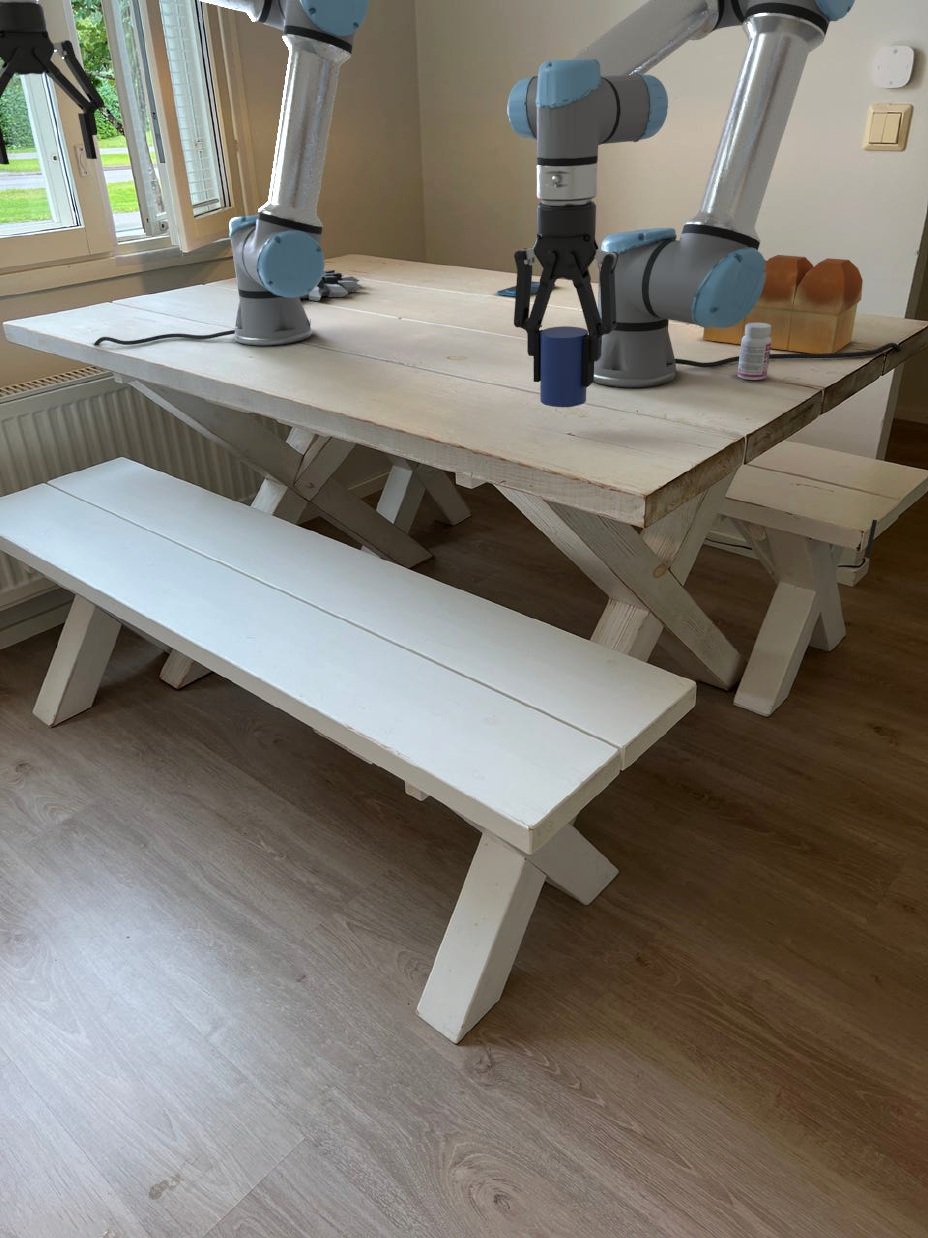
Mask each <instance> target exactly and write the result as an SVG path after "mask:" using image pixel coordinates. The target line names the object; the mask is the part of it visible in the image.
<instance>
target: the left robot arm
mask: <svg viewBox="0 0 928 1238" xmlns="http://www.w3.org/2000/svg"><path fill="white" fill-rule="evenodd" d="M200 1H201V2H204V3H209V4H212V5H215V6H217V5H218V6H220V7H224V8H228V9H232V10H235V11H239V12H243V13H246V14H247V15H248V16H249V18H250V19H251V21H252V22H255V23H258V24H263V25H266V26H268V27H272V28H275V29H278V30H281V31H282V33H283V34H282V39H283V41H284V43H285V45H286V46H287V47H288V50H289V56H288V61H287V62H288V64H287V70H286V76H285V84H284V90H283V97H282V105H281V111H280V119H279V126H278V133H277V140H276V146H275V153H274V161H273V168H272V174H271V181H270V188H269V195H268V201H267V202H266V203H265V204H264V205H262V206H261V207H260V208H258V211H257V214H255V215H245V216H236V217H232V218H231V219H230V220H229V224H228V225H229V226H228V227H229V235H228V236H229V237H228V238H229V239H230V244H231V252H232V257H233V258H232V259H233V264H234V271H235V272H234V273H235V278H236V279H235V280H236V286H237V293H238V307H237V312H236V318H235V319H236V320H235V323H234V329H230V330H226V331H220V332H216V333H212V334H190V333H180V332H179V333H178V332H177V333H165V334H158V335H154V336H150V337H145V338H141V339H140V338H139V339H136V340H135V339H132V340H121V339H117V338H114V337H111V336H101V337H99V338H98V339H96V340H95V342H94V343H93V346H99V345H100V344H101V343H102V342H111V343H113V344H117V345H121V346H134V345H140V344H145V343H150V342H154V341H159V340H163V339H172V338H173V339H174V338H183V339H191V340H210V339H215V338H220V337H225V336H230V335H234V337H235V341H236V342H238V343H240V344H243V345H248V346H279V345H286V344H287V345H288V344H292V343H293V344H294V343H297V342H301V341H305V340H306V339H308V338H310V337H311V336H312V327H311V325H312V320H311V318H308V315H307V313H306V310H305V308H304V306H303V303H302V301H301V299H299V297H300V296H303V295H306V294H307V293H309V292H311V291H312V290H313V289H314V288H315V287H316V286H317V285H318V283H319V282H320V280H321V278H322V275H323V272H324V271H325V263H326V262H325V256H324V252H323V250H322V247H321V241H322V234H323V233H322V232H323V227H324V225H323V223H322V221H321V219H320V218H319V216H318V214H317V212H318V205H319V199H320V193H321V186H322V180H323V174H324V168H325V162H326V156H327V149H328V142H329V138H330V131H331V125H332V119H333V112H334V107H335V100H336V95H337V87H338V81H339V75H340V70H341V67H342V65H343V64H344V63H346V62H347V61H348V60H349V59H351V57H352V52H353V47H354V46H353V45H354V42H355V41H354V40H355V34H356V32H357V31H358V30H359V29H360V28H361V27H362V24H363V23H364V22H365V20H366V17H367V14H368V11H369V4H370V3H369V2H370V1H369V0H200ZM55 53H57V55H58V56H59V57H60V58H61V59H63V60H64V62H65V64H66V66H67V67H68V69H69V70H70V72H71V75H73V77H74V79H75V80H76V82H77V83H78V85H79V86H80V88H81V89H82V91H83V93H84V94H85V96H86V97H87V98H86V97H85V96H84V95H83V93H82V92H81V91H80V90H79V89H78V88H77V87H76V86H75V85H74V84H73V83H72V82H71V81H70V80H69V79H68V78H67V77H66V75H64V74H63V73H62V71H61V70H60V68H59V67H58V66H57V65H56V64H55V63H54V62H53V61H52V60H53V57H54V55H55ZM0 59H1V60H2V61H3V62H2V64H1V66H0V99H1V98H2V96H3V95H4V92H5V91H6V89H7V87H8V85H9V83H10V81H11V79H12V78H13V77H14V75H15V74H16V75H18V76H28V75H32V76H33V75H34V76H35V75H37V76H38V75H39V76H40V75H43V74H45V75H46V76H48V77H49V78H50V79H51V80H52V81H53V82H54V83H55V84H56V85H57V86H58V87H59V88H60V89H61V90H62V92H64V93H65V94H66V96H68V97H69V98H70V99H71V100H72V101H73V103H74V104H76V106H77V107H79V109H80V110H81V111H82V112H83V113H82V112H80V113H77V114H78V115H77V117H78V120H79V126H80V131H81V137H82V142H83V146H84V151H85V157H86V159H88V160H97V159H98V157H97V156H98V155H97V152H96V147H95V140H94V136H98V133H99V132H98V127H97V120H96V115H95V113H96V111H97V110H99V109H101V108H104V107H105V105H106V104H105V101H104V99H103V98H102V96H101V95H100V93H99V91H98V90H97V88H96V87H95V85H94V83H93V82H92V80H91V79H90V77H89V76H88V74H87V73H86V71H85V69H84V67H83V65H82V64H81V63H80V61H79V60H78V58H77V56H76V54H75V50H74V45H73V43H72V41H71V40H68V39H65V40H61V41H58V42H52V40H51V39H50V36H49V31H48V25H47V21H46V15H45V10H44V6H42V4H41V3H39V2H38V0H0ZM5 144H6V143H5V140H4V134H3V130H2V127H1V125H0V165H3V166H5V165H10V161H9V160H10V159H9V157H8V152H7V148H6V145H5Z"/></svg>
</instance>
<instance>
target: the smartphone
mask: <svg viewBox="0 0 928 1238" xmlns="http://www.w3.org/2000/svg"><path fill="white" fill-rule="evenodd" d="M539 285H540V281H533V280H532V282H531V294H530V295H532V294H537V291H538V288H539ZM554 287H556V284H555V283H554V286H553V288H554ZM496 295H500V296H508V297H516V285H515V286H510V287H507V288H504V289H501V290H497V291H496Z"/></svg>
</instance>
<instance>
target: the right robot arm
mask: <svg viewBox="0 0 928 1238" xmlns="http://www.w3.org/2000/svg"><path fill="white" fill-rule="evenodd" d="M855 1H856V0H648V1H646V2H645V3H644V4H642V5H641V6H639V7H638V8H637V9H636V10H634V11H633V12H631V13H630V14H629V15H627V16H626V17H625V18H623V19H622V20H620V21H619V22H618V23H616V24H615V25H613V26H612V27H611V28H610V29H608V30H606V32H604V33H603V34H601V35H600V36H599V37H597V38H596V39H595V40H593V41H592V42H590V43H589V44H588V45H586V46H584V47H583V49H581V50H580V51H578V52H577V53H575V54H574V55H573V56H571V57H569V59H555V60H554V59H553V60H545V61H544V62H542V64H541V65H539V68H538V72H537V75H535V76H531V77H525V78H523V79H520V80H519V81H518V82H517V83H515V84H514V86H513V87H512V89H511V91H510V93H509V96H508V99H507V107H506V108H507V109H506V110H507V118H508V122H509V124H510V127H511V128H512V130H513V132H514V133H515V134H516V135H517V136H518V137H521V138H523V139H529V140H535V141H536V154H537V155H536V197H537V199H538V200H540V201H541V202H539V203H538V204H537V206H536V241H535V243H534V245H533V247H529V248H526V247H524V248H521V249H519V250H517V251H515V252H514V255H513V257H514V262H515V266H516V284H515V286H516V297H515V296H514V297H515V299H514V314H513V325H514V327H515V328H516V329H517V328H518V329H519V328H520V329H523V330H524V331H525V332H526V338H527V339H526V340H527V341H526V343H527V345H526V346H527V349H526V350H527V351H526V352H527V355H528V356H529V357H533V382H534V383H540V366H541V331H542V330H543V329H541V328H542V327H543V324H542V323H543V320H544V317H545V315H546V311H547V307H548V305H549V301H550V299H551V295H552V292H553V289H554V287H553V286H554V284H555V283H556V281H557V280H559V279H566V280H569V281H571V282H572V285H573V287H574V288H575V290H576V293H577V296H578V301H579V304H580V307H581V311H582V314H583V319H584V322H585V326H586V330H587V331H588V335H587V336H586V337H584V338H583V372H582V387H586V388H589V386H590V385H592V384H593V383H596V384H599V385H604V386H609V387H618V388H619V387H620V388H645V387H654V386H655V387H656V386H660V385H663V384H666V383H669V382H672V381H673V380H674V379H675V378H676V372H677V368H676V367H677V365H685V366H690V367H691V366H692V367H696V368H702V369H703V368H705V369H706V368H715V367H719V366H723V365H727V364H731V363H735V362H739V357H740V355H737V356H732V357H728V358H724V359H720V360H716V361H710V362H702V361H701V362H700V361H695V360H691V359H683V358H675V353H674V350H673V345H672V341H671V336H670V332H669V321H675V322H679V323H685V324H691V325H695V326H699V327H701V328H703V329H704V328H709V327H714V328H729V327H732V326H735V325H736V324H738V323H739V322H740V321H741V320H742V319H744V318H746V317H747V316H748V314H749V313H750V312H751V311H752V309H753V308H754V306H755V305H756V303H757V301H758V299H759V297H760V295H761V293H762V290H763V287H764V283H765V278H766V274H765V273H764V270H765V269H766V264H765V260H766V259H765V257H764V256H763V254H762V253H761V252H760V251H759V248H760V245H761V238H760V237H759V235H758V233H757V230H756V228H755V226H756V223H757V220H758V217H759V214H760V210H761V207H762V203H763V201H764V197H765V194H766V191H767V188H768V185H769V181H770V178H771V175H772V172H773V169H774V165H775V163H776V159H777V157H778V152H779V150H780V147H781V142H782V140H783V137H784V133H785V130H786V127H787V123H788V120H789V118H790V114H791V111H792V107H793V104H794V101H795V98H796V95H797V91H798V88H799V85H800V82H801V79H802V76H803V72H804V69H805V66H806V63H807V60H808V57H809V54H810V53H811V52H812V51H814V50H816V49H818V47H820V46H821V45H823V43H824V42H825V39H826V35H827V32H828V29H829V26H830V23H831V22H838V21H839V20H840V19H844V18H845V17H846V16H847V14H848V13H850V11H852V8H853V6H854V4H855ZM739 26H741V28H742V31H743V32H744V34H745V36H746V38H747V40H748V42H747V45H746V46H747V47H746V50H745V53H744V56H743V60H742V63H741V66H740V69H739V73H738V77H737V80H736V83H735V87H734V90H733V93H732V96H731V100H730V103H729V107H728V111H727V114H726V116H725V117H726V118H725V121H724V124H723V128H722V131H721V134H720V138H719V141H718V145H717V147H716V151H715V154H714V158H713V161H712V165H711V168H710V171H709V175H708V178H707V181H706V185H705V189H704V193H703V195H702V199H701V202H700V205H699V209H698V212H697V213H696V215H695V216H694V217H692V218H691V219H689V220H687V221H686V222H684V224H683V227H682V231H681V234H680V237H679V240H678V239H677V237H678V235H677V232H676V229H675V228H674V227H656V228H646V229H636V230H629V231H621V232H615V233H612V234H609V235H607V236H605V237H604V239H603V240H602V242H601V247H600V248H599V245H598V243H597V239H596V230H597V229H596V228H597V227H596V225H597V204H596V203H595V201H593V199H594V198H596V197H597V194H598V192H597V191H598V162H599V160H598V159H599V146H600V145H606V144H607V145H608V144H618V143H627V142H631V143H632V142H633V143H637V142H638V143H639V141H642V140H646V139H650V138H652V137H654V136H655V135H657V133H659V132H660V130H661V129H662V128H663V126H664V124H665V122H666V120H667V116H668V110H669V109H668V108H669V96H668V93H667V89H666V88H665V86H664V84H663V82H662V81H661V80H660V79H659V78H657V77H656V76H654V75H652V74H646V73H647V72H649V71H650V70H651V69H653V68H654V67H656V66H657V65H658V64H659V63H661V62H662V61H663V60H665V59H666V58H668V57H669V56H670V55H671V54H672V53H674V52H675V51H677V50H678V49H679V48H680V47H682V46H683V45H685V44H686V43H687V42H689V41H700V40H702V39H704V38H706V37H708V35H710V34H711V33H712V32H714V31H717V30H720V29H724V28H730V27H739ZM535 259H537V261H538V262H539V264H540V265H541V268H542V272H541V275H540V278H539V282H540V285H539V288H538V291H537V292H536V293H535V298H534V301H533V304H532V307H531V311H530V305H531V295H532V294H531V282H532V281H533V280H532V278H533V265H534V263H535ZM764 259H765V260H764ZM594 260H596V262H597V268H598V293H597V294H598V295H597V296H598V298H597V301H596V297H595V294H594V289H593V287H592V282H591V281H592V277H591V274H590V270H589V267H590V266H591V265H592V263H593V262H594ZM888 349H894V350H895V351H896V352H902V348H901V347H900V346H899V345H898V343H896V342H889V343H886V344H884V345H882V346H880V347H878V348H876V349H871V350H862V351H850V352H848V351H847V352H835V353H825V354H813V353H770V356H769V360H783V359H784V360H785V359H790V360H791V359H809V360H810V359H811V360H812V359H818V360H819V359H843V358H844V359H845V358H859V357H869V356H874V355H878V354H881V353H883V352H885V351H886V350H888ZM877 524H878V520H877V519H872V521H871V526H870V530H869V534H868V541H867V546H866V551H865V557H866V558H869V557H871V553H872V548H873V542H874V539H875V533H876V528H877Z"/></svg>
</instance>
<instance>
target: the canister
mask: <svg viewBox="0 0 928 1238" xmlns="http://www.w3.org/2000/svg"><path fill="white" fill-rule="evenodd" d="M541 330H542V331H541V366H540V382H539V386H540V389H539V390H540V393H539V394H540V395H539V398H540V399H539V400H540V403H541V404H543V405H545V406H547V407H552V408H573V407H578V406H581V405H583V404H585V403H586V402H587V387H582V372H583V338H584V337H586V336H587V335H589V332H588V329H587V328H583V327H578V326H569V325H568V326H567V325H566V326H565V325H563V326H562V325H561V326H553V327H547V328H544V329H541Z"/></svg>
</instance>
